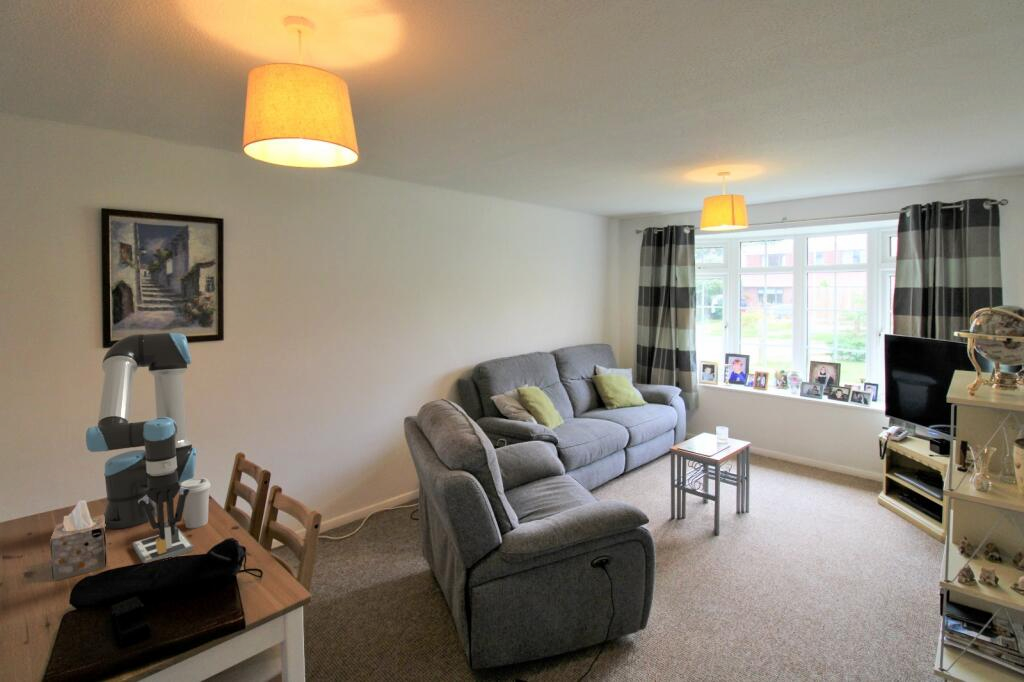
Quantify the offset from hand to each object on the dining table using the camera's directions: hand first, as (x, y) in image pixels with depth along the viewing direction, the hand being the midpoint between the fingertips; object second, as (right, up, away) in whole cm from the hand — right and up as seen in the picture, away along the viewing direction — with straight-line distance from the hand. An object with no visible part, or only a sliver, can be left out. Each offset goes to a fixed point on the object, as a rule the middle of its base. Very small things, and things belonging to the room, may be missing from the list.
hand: (168, 546), depth 154 cm
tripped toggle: (-1, -1, -1) cm, 2 cm away
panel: (-4, -2, +4) cm, 7 cm away
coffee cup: (-4, -1, +21) cm, 21 cm away
